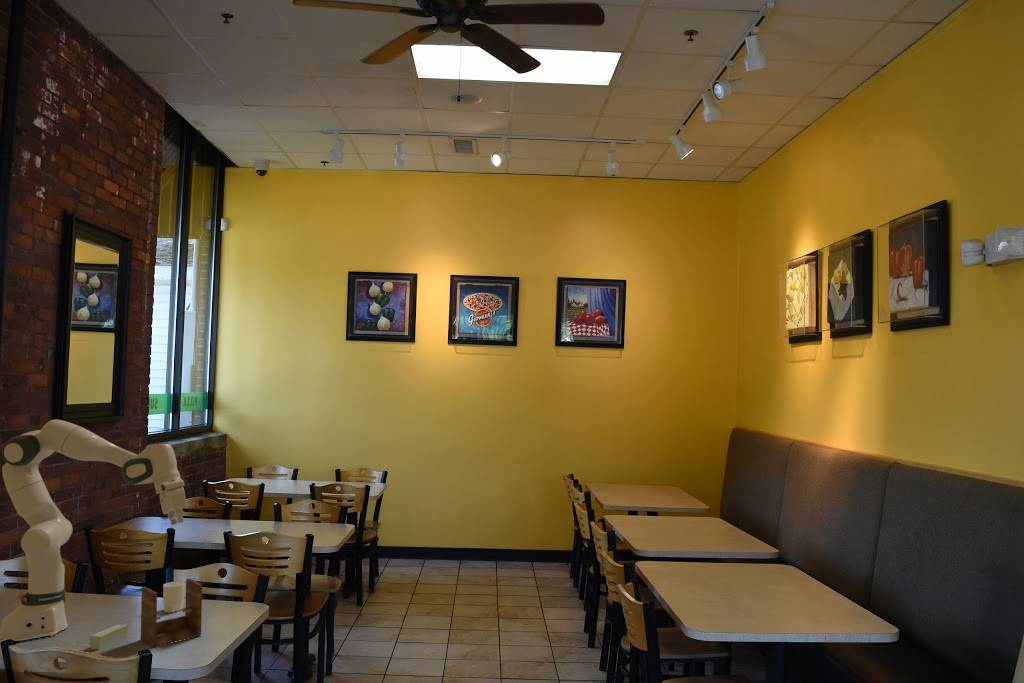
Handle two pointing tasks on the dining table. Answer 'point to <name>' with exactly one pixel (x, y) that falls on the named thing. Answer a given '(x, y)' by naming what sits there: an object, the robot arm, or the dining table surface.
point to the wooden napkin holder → (174, 627)
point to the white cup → (173, 596)
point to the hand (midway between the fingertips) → (177, 523)
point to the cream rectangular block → (108, 637)
